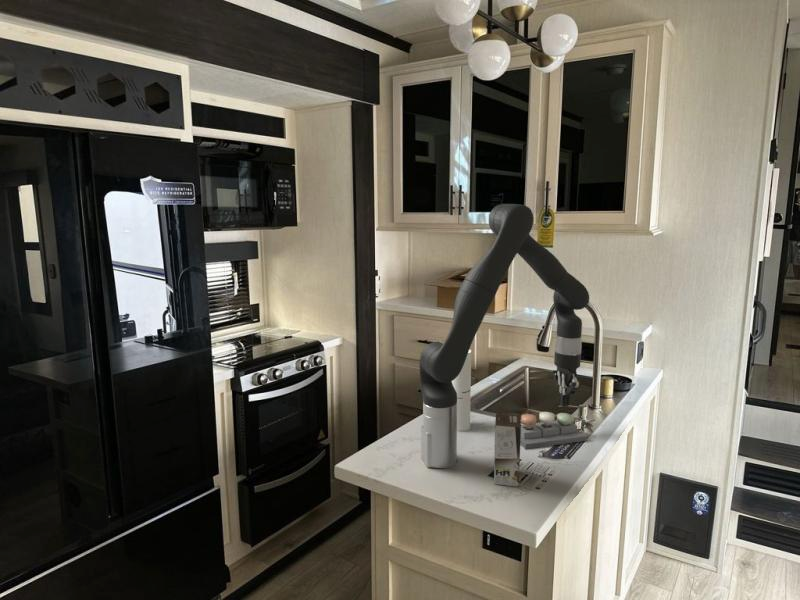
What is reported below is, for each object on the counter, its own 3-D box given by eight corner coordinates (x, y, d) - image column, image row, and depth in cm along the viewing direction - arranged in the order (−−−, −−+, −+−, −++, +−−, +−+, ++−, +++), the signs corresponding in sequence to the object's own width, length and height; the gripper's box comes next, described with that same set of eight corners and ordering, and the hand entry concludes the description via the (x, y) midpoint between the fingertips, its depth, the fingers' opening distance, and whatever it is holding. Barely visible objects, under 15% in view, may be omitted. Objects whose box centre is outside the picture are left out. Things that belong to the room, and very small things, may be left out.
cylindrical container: (474, 428, 172) (475, 352, 167) (453, 432, 170) (454, 355, 165) (463, 420, 179) (464, 346, 174) (443, 423, 176) (444, 349, 171)
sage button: (561, 430, 165) (562, 419, 164) (553, 424, 169) (554, 413, 168) (574, 428, 166) (575, 417, 165) (566, 422, 170) (567, 412, 169)
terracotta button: (525, 431, 162) (525, 420, 161) (518, 425, 166) (518, 414, 165) (538, 429, 163) (539, 418, 162) (531, 424, 167) (532, 413, 166)
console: (525, 449, 158) (525, 438, 158) (507, 431, 170) (507, 421, 169) (586, 440, 163) (587, 430, 163) (565, 424, 175) (565, 414, 174)
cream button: (543, 429, 163) (544, 418, 163) (536, 423, 167) (536, 412, 167) (556, 427, 164) (557, 416, 164) (549, 421, 168) (549, 411, 168)
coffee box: (519, 487, 138) (521, 427, 135) (493, 484, 139) (494, 425, 136) (518, 469, 147) (520, 412, 144) (494, 467, 148) (495, 411, 145)
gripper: (545, 345, 168) (542, 398, 171) (568, 357, 156) (565, 415, 159) (567, 343, 170) (564, 396, 173) (592, 355, 157) (588, 412, 161)
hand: (564, 405), depth 166 cm, fingers closed
